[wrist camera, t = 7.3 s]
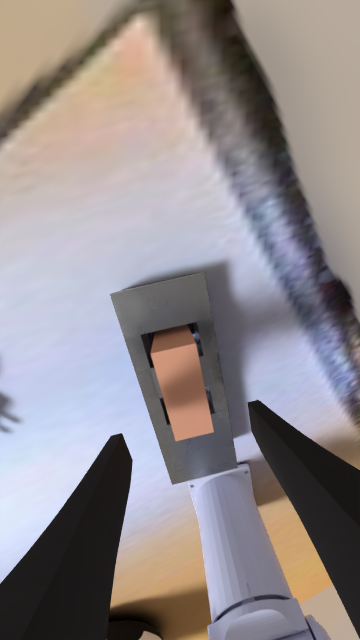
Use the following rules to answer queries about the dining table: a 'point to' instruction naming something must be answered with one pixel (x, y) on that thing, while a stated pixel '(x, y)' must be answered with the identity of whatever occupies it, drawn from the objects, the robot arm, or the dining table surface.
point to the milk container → (131, 631)
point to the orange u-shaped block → (181, 382)
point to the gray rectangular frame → (194, 307)
